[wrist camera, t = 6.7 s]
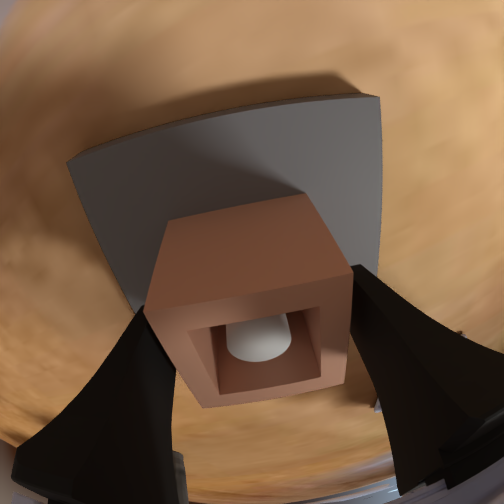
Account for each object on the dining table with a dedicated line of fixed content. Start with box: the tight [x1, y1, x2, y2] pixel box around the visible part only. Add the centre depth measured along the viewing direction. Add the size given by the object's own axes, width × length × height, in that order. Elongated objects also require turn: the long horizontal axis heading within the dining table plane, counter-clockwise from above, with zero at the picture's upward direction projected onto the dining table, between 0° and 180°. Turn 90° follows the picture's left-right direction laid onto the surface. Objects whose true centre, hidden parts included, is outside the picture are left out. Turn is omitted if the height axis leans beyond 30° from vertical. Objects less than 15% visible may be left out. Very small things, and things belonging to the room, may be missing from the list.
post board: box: [66, 93, 382, 362], centre depth 12 cm, size 12×12×6 cm
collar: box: [143, 193, 353, 408], centre depth 11 cm, size 5×5×5 cm
